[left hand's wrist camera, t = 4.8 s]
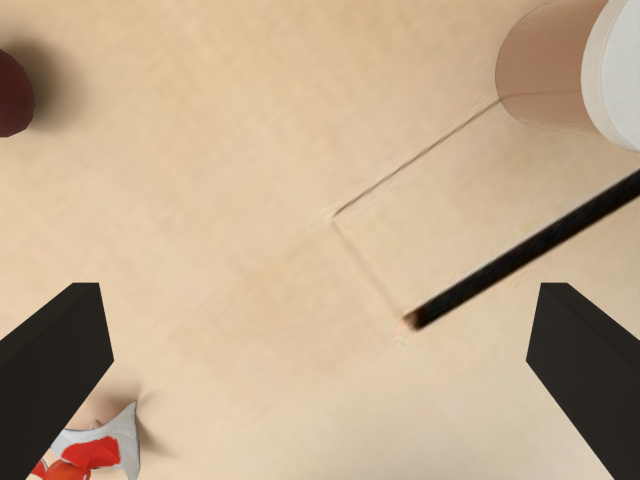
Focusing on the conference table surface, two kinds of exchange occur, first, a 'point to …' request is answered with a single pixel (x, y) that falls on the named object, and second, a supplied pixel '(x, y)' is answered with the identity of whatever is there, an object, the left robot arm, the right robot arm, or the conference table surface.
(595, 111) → the lid
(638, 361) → the left robot arm
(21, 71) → the dark maroon ball
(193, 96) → the conference table surface
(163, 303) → the conference table surface
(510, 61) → the jar
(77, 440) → the red and white piece
